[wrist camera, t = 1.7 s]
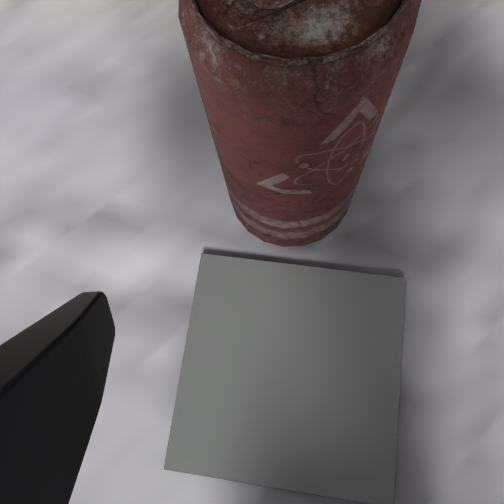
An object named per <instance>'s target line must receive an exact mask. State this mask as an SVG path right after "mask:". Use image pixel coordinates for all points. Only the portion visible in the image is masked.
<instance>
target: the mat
mask: <svg viewBox="0 0 504 504" xmlns="http://www.w3.org/2000/svg"><path fill="white" fill-rule="evenodd" d="M405 293H406V278H402V277H394V276H386V275H377V274H369V273H361V272H352V271H344V270H336V269H327V268H319V267H311V266H303V265H294V264H286V263H278V262H269V261H261V260H253V259H244V258H236V257H228V256H219V255H211V254H203V253H201V259H200V265H199V271H198V276H197V282H196V288H195V293H194V299H193V305H192V310H191V316H190V322H189V328H188V333H187V339H186V345H185V350H184V356H183V362H182V368H181V373H180V379H179V385H178V390H177V396H176V402H175V407H174V413H173V419H172V425H171V430H170V436H169V442H168V447H167V453H166V459H165V465H164V469H165V470H171V471H177V472H183V473H189V474H195V475H200V476H206V477H212V478H218V479H224V480H230V481H236V482H242V483H248V484H254V485H260V486H266V487H272V488H278V489H284V490H290V491H295V492H301V493H307V494H313V495H319V496H325V497H331V498H337V499H343V500H349V501H355V502H361V503H367V504H394V492H395V474H396V456H397V438H398V420H399V402H400V383H401V365H402V347H403V329H404V311H405Z"/></svg>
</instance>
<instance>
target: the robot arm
mask: <svg viewBox="0 0 504 504" xmlns="http://www.w3.org/2000/svg"><path fill="white" fill-rule="evenodd" d="M114 337H115V326H114V322H113V318H112V315H111V311H110V307H109V304H108V300H107V297H106V295H105V294H104V293H103V292H101V291H97V292H84V293H81V294H79V295H78V296H76V297H75V298H73V299H71V300H70V301H68V302H67V303H65V304H64V305H62V306H61V307H59V308H57V309H56V310H54V311H53V312H51V313H50V314H48V315H47V316H45V317H44V318H42V319H40V320H39V321H37V322H36V323H34V324H33V325H31V326H30V327H28V328H26V329H25V330H23V331H22V332H20V333H19V334H17V335H16V336H14V337H12V338H11V339H9V340H8V341H6V342H5V343H3V344H2V345H0V504H69V501H70V498H71V494H72V491H73V488H74V485H75V482H76V479H77V476H78V473H79V470H80V467H81V464H82V461H83V458H84V455H85V452H86V449H87V446H88V443H89V440H90V436H91V433H92V430H93V427H94V424H95V421H96V418H97V415H98V412H99V408H100V405H101V401H102V397H103V392H104V387H105V382H106V377H107V372H108V367H109V362H110V357H111V352H112V347H113V342H114Z"/></svg>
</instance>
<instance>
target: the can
mask: <svg viewBox="0 0 504 504" xmlns="http://www.w3.org/2000/svg"><path fill="white" fill-rule="evenodd" d="M420 3H421V0H179V20H180V23H181V27H182V30H183V34H184V37H185V41H186V44H187V48H188V51H189V55H190V58H191V62H192V65H193V69H194V72H195V76H196V79H197V83H198V87H199V90H200V94H201V97H202V101H203V104H204V108H205V111H206V115H207V118H208V122H209V125H210V129H211V132H212V136H213V139H214V143H215V146H216V150H217V153H218V157H219V160H220V164H221V167H222V171H223V174H224V178H225V181H226V185H227V188H228V192H229V195H230V199H231V202H232V205H233V207H234V210H235V213H236V216H237V218H238V219H239V220H240V221H241V223H242V224H243V225H244V226H245V228H246V229H247V230H248V231H249V232H250V233H252V234H253V235H255V236H257V237H258V238H260V239H261V240H263V241H264V242H268V243H272V244H276V245H279V246H283V247H284V246H303V245H306V244H309V243H312V242H315V241H318V240H320V239H322V238H323V237H325V236H326V235H327V234H329V233H330V232H331V231H333V230H334V229H335V228H336V227H337V226H338V224H339V223H340V221H341V220H342V218H343V217H344V215H345V214H346V213H347V210H348V207H349V204H350V202H351V199H352V196H353V194H354V191H355V188H356V186H357V183H358V180H359V177H360V175H361V172H362V169H363V167H364V164H365V161H366V158H367V156H368V153H369V150H370V148H371V145H372V142H373V140H374V137H375V134H376V131H377V129H378V126H379V123H380V121H381V118H382V115H383V113H384V110H385V107H386V104H387V102H388V99H389V96H390V94H391V91H392V88H393V85H394V83H395V80H396V77H397V75H398V72H399V69H400V67H401V64H402V61H403V58H404V56H405V53H406V50H407V48H408V45H409V42H410V39H411V37H412V34H413V31H414V27H415V23H416V19H417V15H418V11H419V7H420Z"/></svg>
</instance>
